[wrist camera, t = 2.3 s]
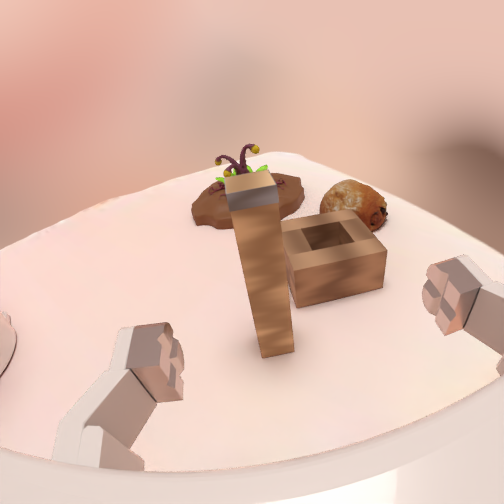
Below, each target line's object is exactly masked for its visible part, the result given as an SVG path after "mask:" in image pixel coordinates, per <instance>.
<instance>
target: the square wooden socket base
mask: <svg viewBox="0 0 504 504" xmlns="http://www.w3.org/2000/svg"><path fill="white" fill-rule="evenodd" d="M281 229H282V237H283V246H284V254H285V263H286V272H287V281H288V284H289V287H290V290H291V292H292V295H293V298H294V301H295V304H296V307H297V308H300V307H305V306H309V305H314V304H318V303H323V302H327V301H331V300H335V299H339V298H343V297H348V296H352V295H356V294H360V293H363V292H367V291H371V290H375V289H379V288H383V281H384V274H385V266H386V258H387V249H386V248H385V247H384V246H383V245H382V243H381V242H380V241H379V240H378V239H377V238H376V236H375V235H374V234H373V233H372V232H371V231H370V230H369V228H368V227H367V226H366V225H365V224H364V223H363V222H362V221H361V219H360V218H359V217H358V216H357V215H356V214H355V213H354V212H353V211H352V210H351V209H346V210H340V211H334V212H329V213H323V214H318V215H312V216H307V217H301V218H296V219H290V220H285V221H281Z"/></svg>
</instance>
